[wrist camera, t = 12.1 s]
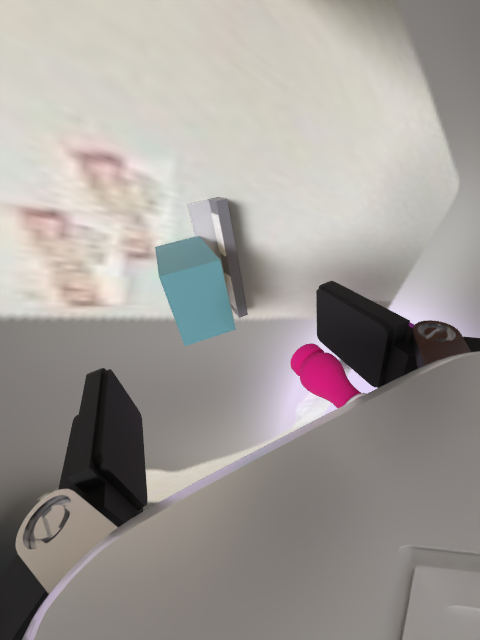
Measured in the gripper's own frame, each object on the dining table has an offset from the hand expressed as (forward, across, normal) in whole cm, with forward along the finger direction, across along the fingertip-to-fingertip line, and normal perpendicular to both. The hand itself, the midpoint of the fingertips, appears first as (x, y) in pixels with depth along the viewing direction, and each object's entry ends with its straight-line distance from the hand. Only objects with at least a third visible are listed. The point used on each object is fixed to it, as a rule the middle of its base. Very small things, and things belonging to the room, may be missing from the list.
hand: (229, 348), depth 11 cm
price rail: (+21, -5, +4) cm, 22 cm away
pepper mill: (+21, -17, +26) cm, 38 cm away
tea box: (+21, -1, +4) cm, 21 cm away
